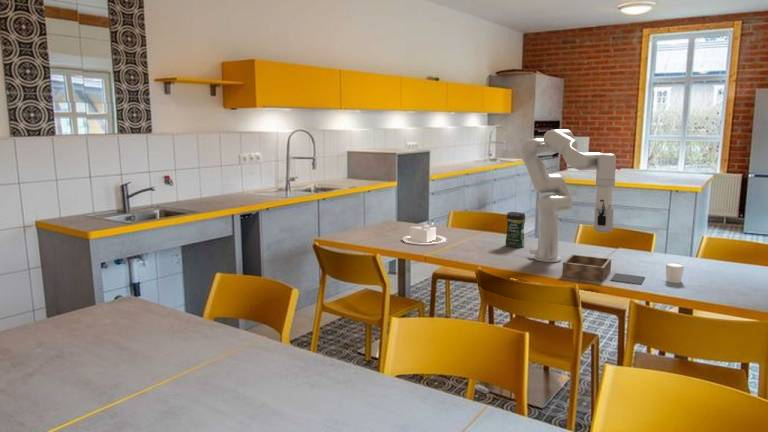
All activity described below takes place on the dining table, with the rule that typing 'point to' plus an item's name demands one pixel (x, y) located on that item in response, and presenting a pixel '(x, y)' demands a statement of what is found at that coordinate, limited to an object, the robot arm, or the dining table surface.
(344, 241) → the dining table surface
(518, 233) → the coffee jar
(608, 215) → the can
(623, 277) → the mat
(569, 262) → the crate
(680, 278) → the shot glass
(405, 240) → the dish
